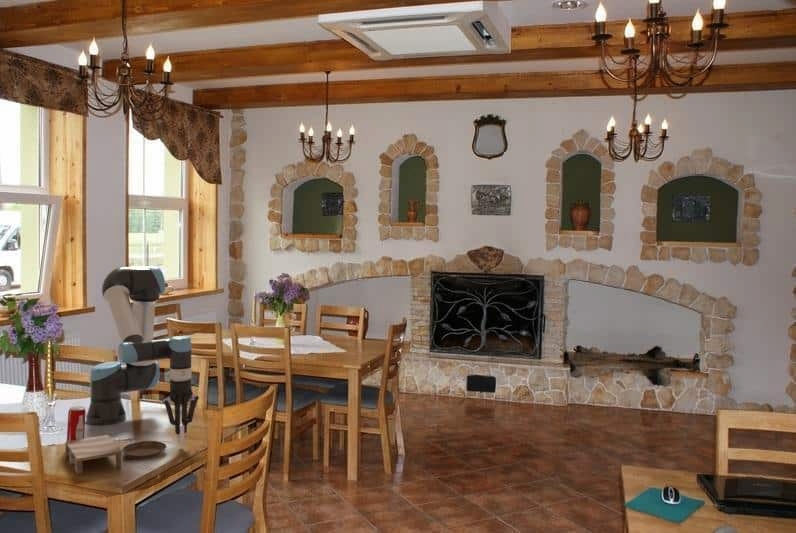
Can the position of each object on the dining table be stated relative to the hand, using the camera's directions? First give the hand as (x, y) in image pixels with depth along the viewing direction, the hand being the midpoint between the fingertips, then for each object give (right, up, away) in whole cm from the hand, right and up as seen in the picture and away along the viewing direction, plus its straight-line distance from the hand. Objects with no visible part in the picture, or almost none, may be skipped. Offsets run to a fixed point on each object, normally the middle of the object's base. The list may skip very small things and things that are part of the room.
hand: (181, 442), depth 253 cm
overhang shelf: (-25, -3, -17) cm, 30 cm away
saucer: (-11, -3, -7) cm, 13 cm away
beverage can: (-37, -2, -3) cm, 37 cm away
